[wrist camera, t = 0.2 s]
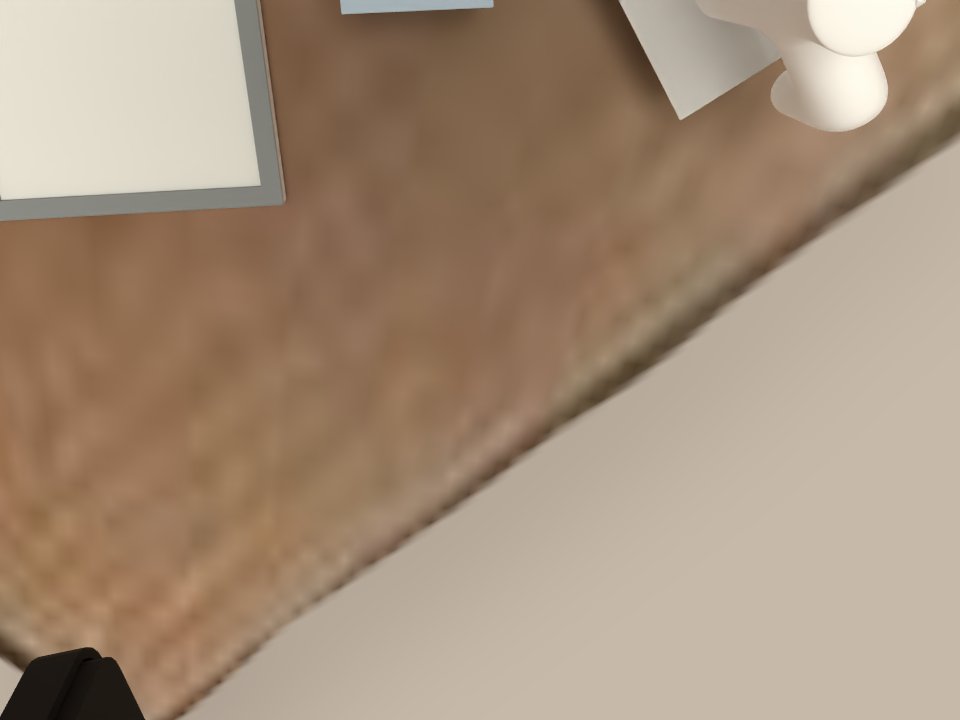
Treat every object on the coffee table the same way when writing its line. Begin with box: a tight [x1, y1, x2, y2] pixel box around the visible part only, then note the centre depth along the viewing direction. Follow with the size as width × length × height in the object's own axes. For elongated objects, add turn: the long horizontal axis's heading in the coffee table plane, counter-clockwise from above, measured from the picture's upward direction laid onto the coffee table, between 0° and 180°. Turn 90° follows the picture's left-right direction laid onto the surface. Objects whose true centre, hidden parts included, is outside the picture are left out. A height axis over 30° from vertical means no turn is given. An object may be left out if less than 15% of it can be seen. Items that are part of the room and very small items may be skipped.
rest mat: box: [0, 0, 286, 221], centre depth 34 cm, size 12×12×1 cm
